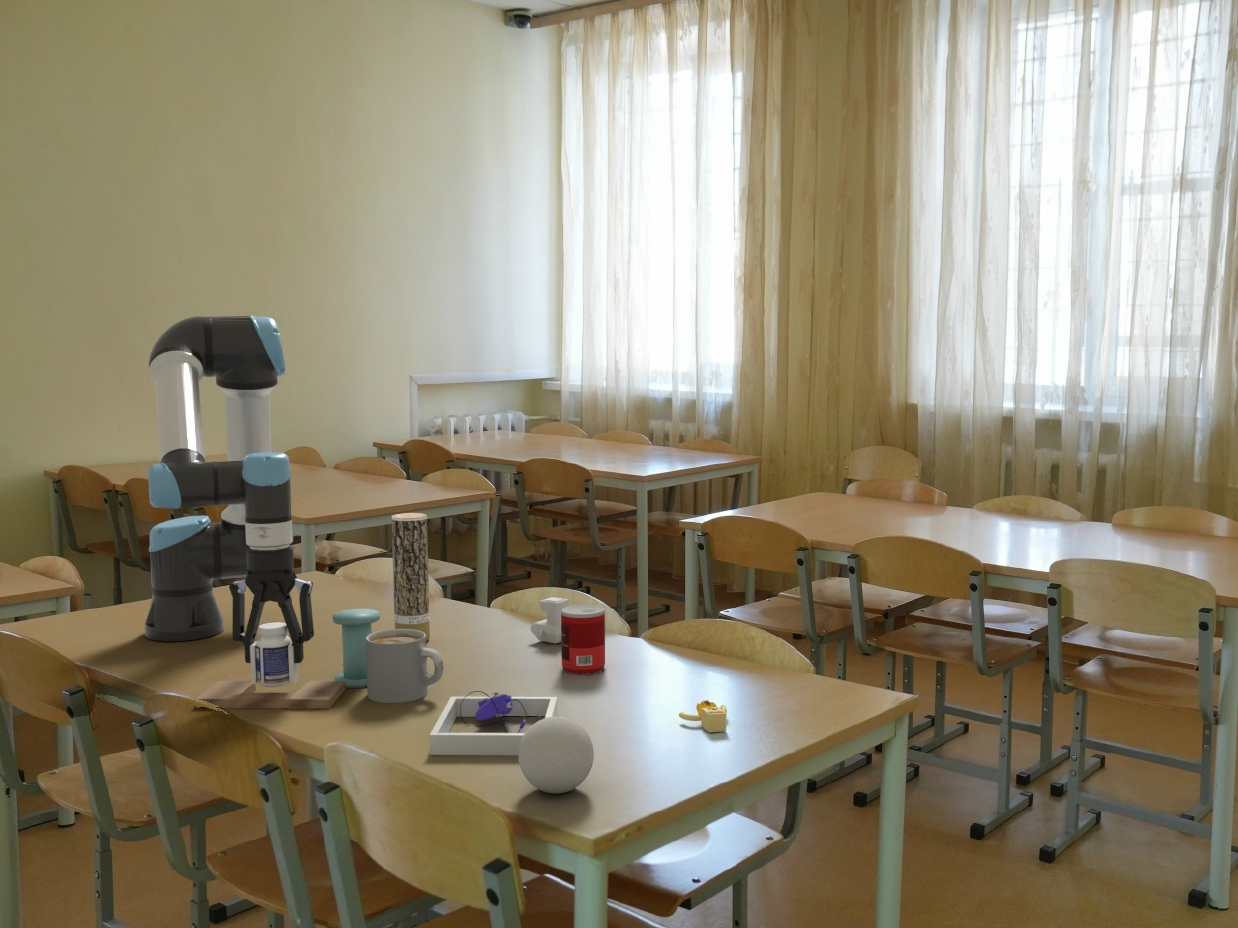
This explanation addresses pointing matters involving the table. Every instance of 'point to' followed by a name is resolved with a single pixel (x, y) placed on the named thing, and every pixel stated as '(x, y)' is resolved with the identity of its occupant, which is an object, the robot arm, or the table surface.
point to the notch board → (273, 695)
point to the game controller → (495, 707)
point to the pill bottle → (273, 655)
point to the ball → (556, 754)
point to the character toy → (709, 716)
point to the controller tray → (484, 742)
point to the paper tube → (410, 572)
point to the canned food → (583, 639)
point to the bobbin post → (355, 644)
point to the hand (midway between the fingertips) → (275, 681)
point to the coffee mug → (399, 665)
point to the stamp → (550, 620)
